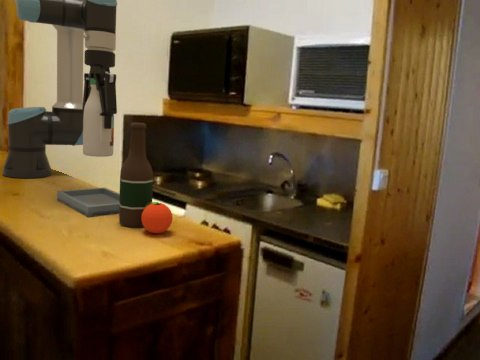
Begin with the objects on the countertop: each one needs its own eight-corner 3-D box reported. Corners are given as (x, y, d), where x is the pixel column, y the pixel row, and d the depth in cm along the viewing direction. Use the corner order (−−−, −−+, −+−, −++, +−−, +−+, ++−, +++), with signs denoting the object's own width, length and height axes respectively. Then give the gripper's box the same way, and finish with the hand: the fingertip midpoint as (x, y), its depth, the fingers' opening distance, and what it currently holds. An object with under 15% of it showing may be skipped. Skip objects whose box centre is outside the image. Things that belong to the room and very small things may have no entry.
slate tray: (57, 200, 124) (57, 191, 124) (104, 195, 134) (104, 187, 133) (87, 217, 110) (88, 207, 109) (138, 210, 119) (139, 201, 119)
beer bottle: (140, 217, 113) (143, 121, 109) (158, 225, 107) (162, 124, 103) (112, 221, 107) (114, 121, 103) (129, 230, 102) (132, 124, 98)
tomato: (131, 230, 102) (132, 200, 101) (155, 225, 107) (156, 196, 106) (154, 239, 97) (155, 207, 96) (178, 233, 102) (179, 203, 101)
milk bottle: (104, 158, 115) (106, 78, 111) (76, 155, 116) (77, 76, 113) (118, 155, 122) (120, 80, 119) (92, 152, 124) (93, 78, 120)
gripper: (69, 49, 120) (68, 135, 124) (104, 47, 105) (102, 144, 109) (96, 53, 125) (94, 135, 129) (133, 51, 110) (130, 144, 114)
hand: (98, 139), depth 119 cm, fingers closed on milk bottle, 8 cm apart
